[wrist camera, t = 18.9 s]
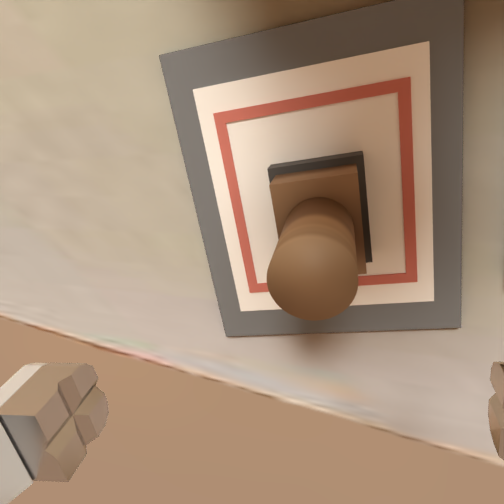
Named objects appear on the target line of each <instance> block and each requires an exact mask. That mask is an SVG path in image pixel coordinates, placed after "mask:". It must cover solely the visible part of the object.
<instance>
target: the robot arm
mask: <svg viewBox="0 0 504 504" xmlns="http://www.w3.org/2000/svg"><path fill="white" fill-rule="evenodd" d="M97 380H98V376H97V374H96V372H95V370H94V368H93V366H91V365H88V364H80V363H77V364H76V363H31V364H28V365H25V366H23V367H22V368H21V369H20V370H19V371H18V372H17V373H16V374H15V375H13V376H12V377H11V378H10V379H9V380H8V381H7V382H6V383H5V384H4V385H3V386H2V387H0V504H8V503H9V502H11V501H12V500H13V499H14V498H16V497H17V496H18V495H19V494H20V493H22V492H23V491H24V490H25V489H26V488H28V487H29V486H30V485H31V484H32V483H33V480H34V481H56V482H68V481H69V480H70V478H71V477H72V475H73V474H74V472H75V471H76V469H77V468H78V466H79V465H80V463H81V462H82V460H83V459H84V457H85V456H86V454H87V451H86V445H87V444H89V443H90V442H91V441H93V440H94V439H95V438H97V437H98V436H99V435H100V433H101V431H102V430H103V428H104V427H105V424H106V420H107V416H108V402H107V399H106V396H105V394H104V393H103V392H102V391H101V390H100V389H99V388H98V387H96V386H95V385H96V382H97ZM490 381H491V383H492V385H493V388H494V390H495V392H496V393H495V394H494V395H493V396H492V397H491V398H490V399H489V405H488V417H489V425H490V431H491V435H492V439H493V442H494V445H495V448H496V450H497V453H498V456H499V457H500V458H502V459H503V460H504V362H493V365H492V367H491V375H490Z"/></svg>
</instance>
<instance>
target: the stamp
mask: <svg viewBox="0 0 504 504" xmlns="http://www.w3.org/2000/svg"><path fill="white" fill-rule="evenodd" d="M267 171H268V176H269V182H270V185H269V187H270V193H271V199H272V205H273V210H274V216H275V222H276V228H277V234H278V239H279V240H278V243H277V245H276V248H275V251H274V253H273V256H272V258H271V261H270V264H269V267H268V270H267V286H268V290H269V292H270V295H271V297H272V298H273V300H274V301H275V302H276V304H277V305H278V306H279V307H280V308H281V309H283V310H284V311H285V312H287V313H288V314H290V315H292V316H294V317H297V318H300V319H304V320H312V321H317V320H325V319H329V318H332V317H334V316H336V315H338V314H340V313H341V312H343V311H344V310H345V309H347V308H348V306H349V305H350V304H351V303H352V301H353V300H354V298H355V296H356V293H357V290H358V274H367V270H366V263H369V262H373V261H372V249H371V238H370V226H369V214H368V202H367V190H366V178H365V167H364V155H363V151H356V152H350V153H343V154H337V155H330V156H323V157H317V158H310V159H304V160H297V161H291V162H284V163H278V164H271V165H270V166H269V167H268V169H267Z"/></svg>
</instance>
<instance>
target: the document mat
mask: <svg viewBox="0 0 504 504" xmlns="http://www.w3.org/2000/svg"><path fill="white" fill-rule="evenodd" d="M159 58H160V62H161V67H162V71H163V75H164V79H165V83H166V87H167V92H168V96H169V100H170V104H171V108H172V112H173V117H174V121H175V125H176V129H177V133H178V138H179V142H180V146H181V150H182V154H183V158H184V163H185V167H186V171H187V175H188V179H189V184H190V188H191V192H192V196H193V200H194V204H195V209H196V213H197V217H198V221H199V225H200V230H201V234H202V238H203V242H204V246H205V250H206V255H207V259H208V263H209V267H210V271H211V276H212V280H213V284H214V288H215V292H216V296H217V301H218V305H219V309H220V313H221V317H222V322H223V326H224V330H225V334H226V336H252V335H279V334H306V333H332V332H359V331H386V330H413V329H439V328H461V279H462V177H463V74H464V0H393V1H389V2H385V3H381V4H376V5H372V6H368V7H364V8H359V9H355V10H351V11H346V12H342V13H338V14H334V15H329V16H325V17H321V18H316V19H312V20H308V21H304V22H299V23H295V24H291V25H286V26H282V27H278V28H274V29H269V30H265V31H261V32H256V33H252V34H248V35H244V36H239V37H235V38H231V39H227V40H222V41H218V42H214V43H209V44H205V45H201V46H197V47H192V48H188V49H184V50H179V51H175V52H171V53H167V54H162V55H159ZM356 151H363V155H364V167H365V178H366V190H367V202H368V214H369V226H370V238H371V249H372V261H373V262H369V263H366V270H367V274H358V290H357V293H356V296H355V298H354V300H353V301H352V303H351V304H350V305H349V306H348V308H347V309H345V310H344V311H343V312H341V313H340V314H338V315H336V316H334V317H332V318H329V319H325V320H317V321H312V320H304V319H300V318H297V317H294V316H292V315H290V314H288V313H287V312H285V311H284V310H283V309H281V308H280V307H279V306H278V305H277V304H276V302H275V301H274V300H273V298H272V297H271V295H270V292H269V290H268V286H267V270H268V267H269V264H270V261H271V258H272V256H273V253H274V251H275V248H276V245H277V243H278V240H279V239H278V234H277V228H276V222H275V216H274V210H273V205H272V199H271V193H270V187H269V185H270V182H269V176H268V171H267V169H268V167H269V166H270V165H271V164H278V163H284V162H291V161H297V160H304V159H310V158H317V157H323V156H330V155H337V154H343V153H350V152H356Z"/></svg>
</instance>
